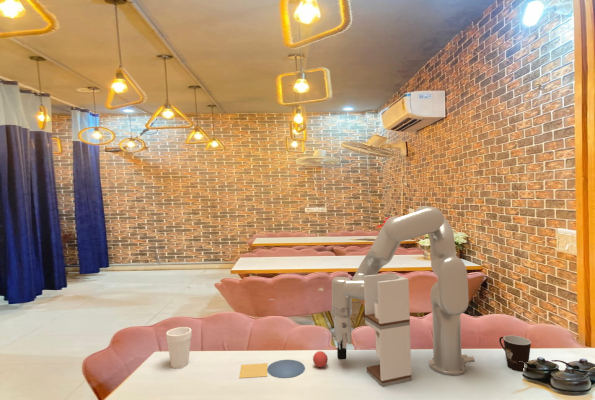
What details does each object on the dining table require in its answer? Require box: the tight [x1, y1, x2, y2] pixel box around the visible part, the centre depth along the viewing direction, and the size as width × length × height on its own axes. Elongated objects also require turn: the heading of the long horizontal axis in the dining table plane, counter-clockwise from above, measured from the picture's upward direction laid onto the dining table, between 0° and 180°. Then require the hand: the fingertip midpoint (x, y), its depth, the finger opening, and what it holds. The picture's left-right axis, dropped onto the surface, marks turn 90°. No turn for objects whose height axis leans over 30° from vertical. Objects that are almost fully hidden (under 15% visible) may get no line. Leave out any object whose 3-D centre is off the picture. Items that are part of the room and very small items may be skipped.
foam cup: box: [165, 326, 193, 369], centre depth 141 cm, size 10×9×13 cm
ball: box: [312, 350, 329, 368], centre depth 136 cm, size 6×6×6 cm
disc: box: [267, 359, 306, 379], centre depth 135 cm, size 14×14×1 cm
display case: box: [363, 272, 412, 388], centre depth 127 cm, size 11×11×35 cm
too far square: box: [238, 362, 268, 379], centre depth 134 cm, size 10×10×1 cm
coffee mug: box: [498, 335, 532, 373], centre depth 133 cm, size 12×9×10 cm
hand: (341, 358), depth 137 cm, fingers closed
